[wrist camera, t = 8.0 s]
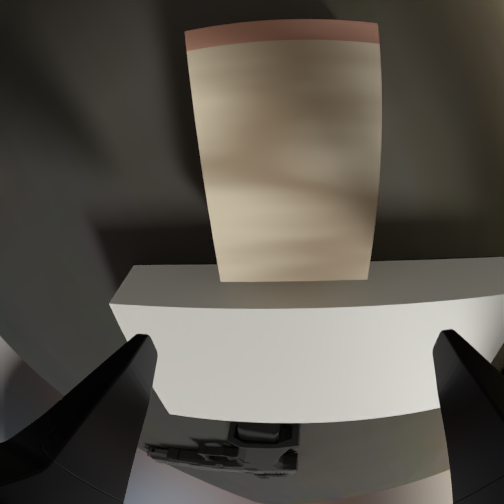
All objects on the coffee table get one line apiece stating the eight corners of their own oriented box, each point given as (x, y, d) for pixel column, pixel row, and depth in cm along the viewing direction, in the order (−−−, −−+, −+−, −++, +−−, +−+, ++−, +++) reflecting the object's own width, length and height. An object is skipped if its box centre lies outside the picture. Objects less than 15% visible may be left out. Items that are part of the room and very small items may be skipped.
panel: (504, 256, 12) (531, 290, 10) (451, 370, 18) (462, 402, 15) (134, 265, 15) (108, 303, 12) (179, 379, 20) (169, 414, 18)
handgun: (84, 417, 24) (156, 469, 31) (292, 438, 18) (316, 481, 26) (95, 394, 27) (162, 450, 34) (294, 402, 21) (317, 457, 28)
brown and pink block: (350, 229, 13) (350, 38, 8) (367, 279, 10) (377, 23, 6) (235, 232, 13) (213, 43, 9) (220, 281, 10) (184, 31, 6)
